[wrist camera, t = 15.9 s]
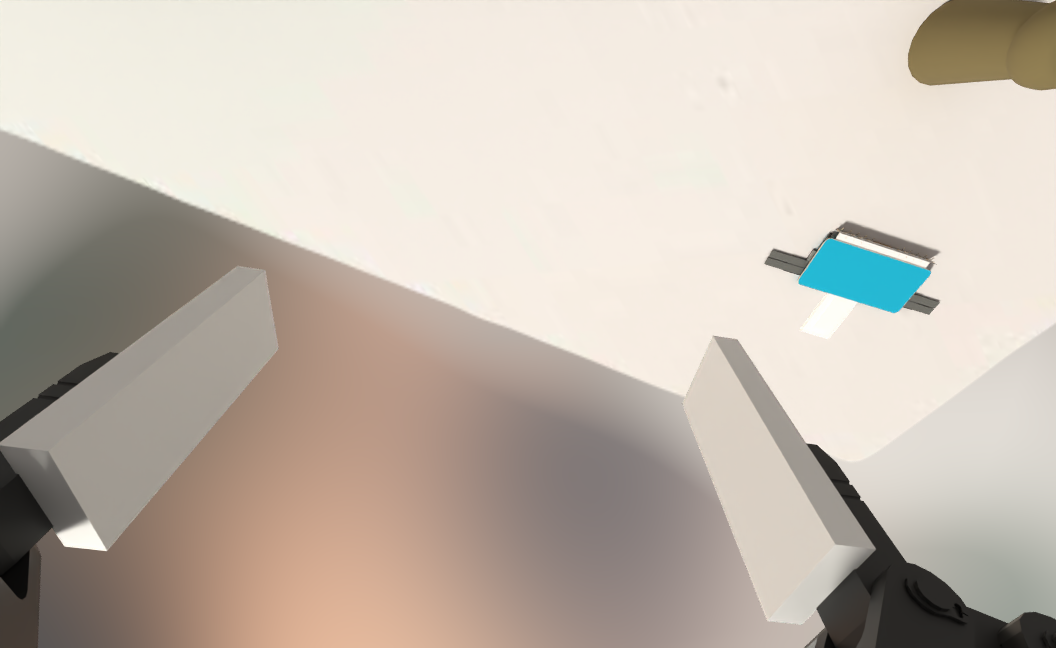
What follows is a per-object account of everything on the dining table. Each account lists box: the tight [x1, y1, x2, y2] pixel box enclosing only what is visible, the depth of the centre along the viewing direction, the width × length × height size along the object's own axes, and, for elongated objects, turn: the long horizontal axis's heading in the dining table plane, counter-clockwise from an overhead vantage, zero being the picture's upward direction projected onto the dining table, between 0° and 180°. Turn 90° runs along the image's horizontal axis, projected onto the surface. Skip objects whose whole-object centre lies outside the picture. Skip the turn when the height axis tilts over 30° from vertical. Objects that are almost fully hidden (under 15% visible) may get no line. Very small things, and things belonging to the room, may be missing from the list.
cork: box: [908, 0, 1056, 90], centre depth 31 cm, size 6×6×11 cm
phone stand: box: [764, 229, 939, 339], centre depth 47 cm, size 20×12×2 cm, turn 73°
